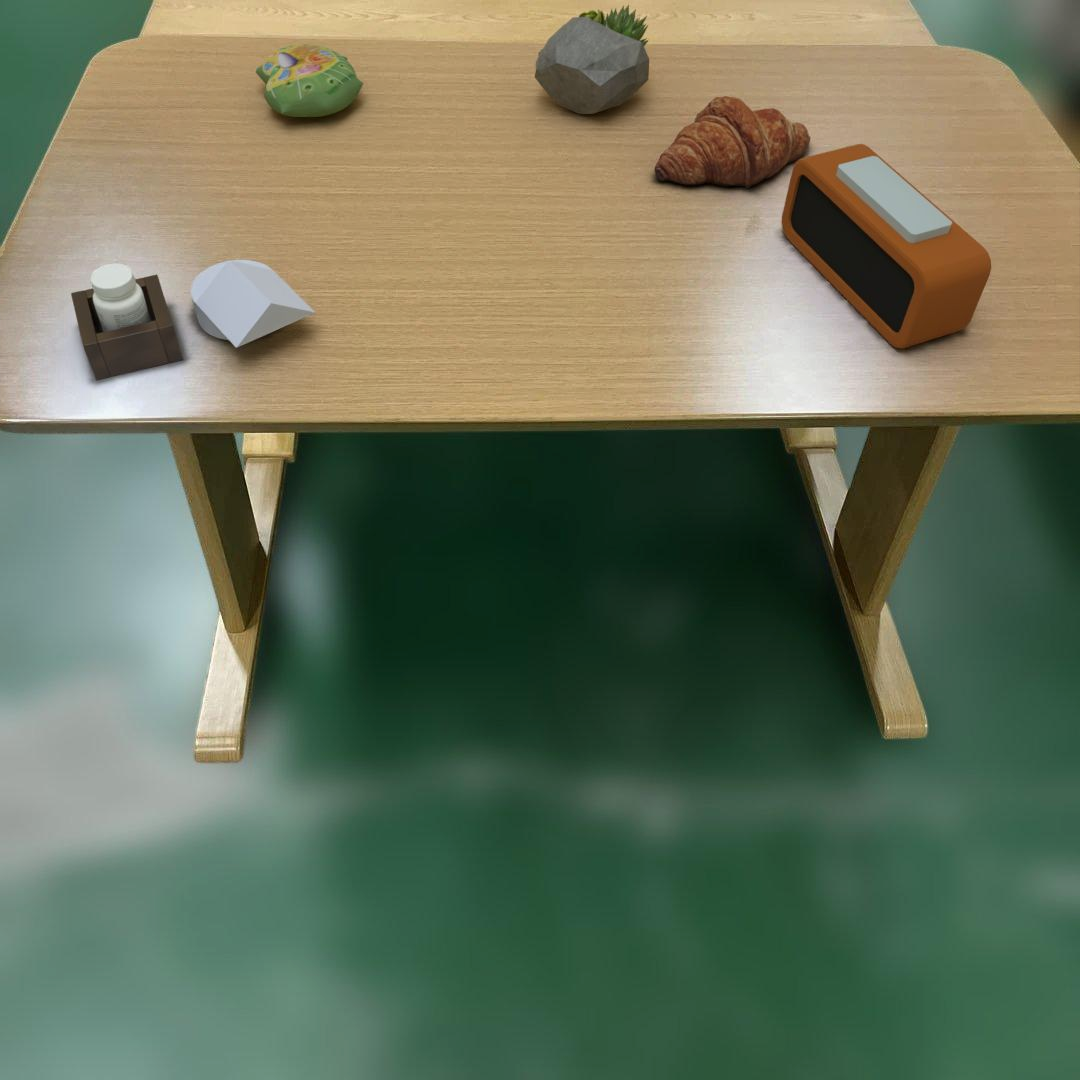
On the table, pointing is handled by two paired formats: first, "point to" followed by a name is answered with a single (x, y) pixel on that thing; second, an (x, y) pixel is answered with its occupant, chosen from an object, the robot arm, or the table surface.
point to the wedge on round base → (244, 301)
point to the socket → (127, 335)
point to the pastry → (732, 146)
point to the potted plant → (594, 61)
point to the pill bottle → (118, 297)
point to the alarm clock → (884, 245)
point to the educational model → (308, 81)
